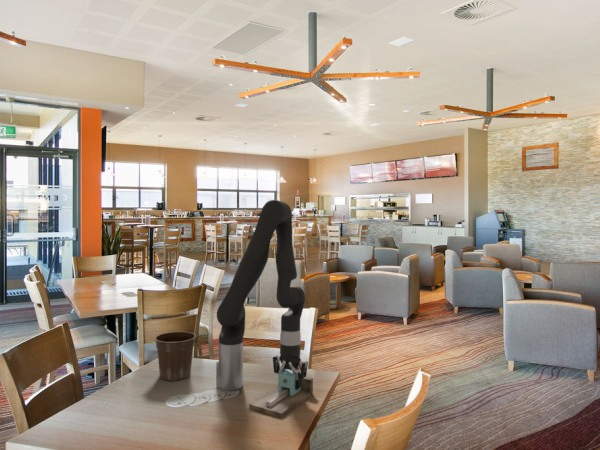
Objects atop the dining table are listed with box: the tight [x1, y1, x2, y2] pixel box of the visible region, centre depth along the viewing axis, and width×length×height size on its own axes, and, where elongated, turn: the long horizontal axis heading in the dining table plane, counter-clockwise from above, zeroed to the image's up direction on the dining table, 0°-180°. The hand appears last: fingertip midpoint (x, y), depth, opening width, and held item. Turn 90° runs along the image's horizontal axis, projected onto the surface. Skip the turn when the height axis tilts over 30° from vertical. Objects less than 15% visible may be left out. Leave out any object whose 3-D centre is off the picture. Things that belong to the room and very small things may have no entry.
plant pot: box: [154, 331, 197, 382], centre depth 180 cm, size 16×16×16 cm
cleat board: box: [248, 376, 314, 419], centre depth 157 cm, size 13×22×6 cm, turn 151°
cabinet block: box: [277, 369, 301, 396], centre depth 161 cm, size 6×7×7 cm
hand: (289, 386), depth 162 cm, fingers closed on cabinet block, 6 cm apart
